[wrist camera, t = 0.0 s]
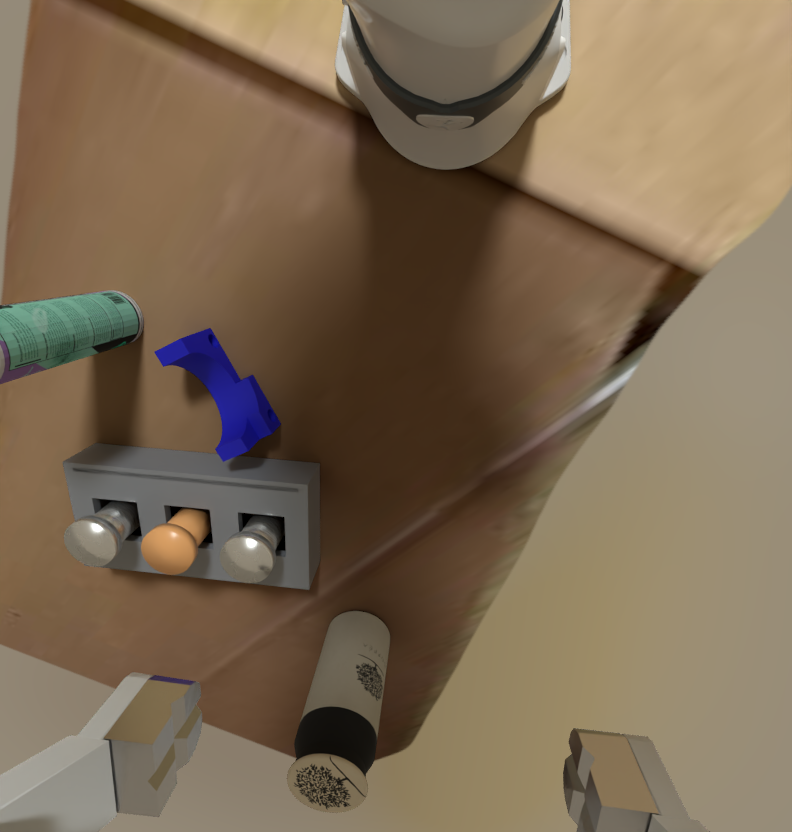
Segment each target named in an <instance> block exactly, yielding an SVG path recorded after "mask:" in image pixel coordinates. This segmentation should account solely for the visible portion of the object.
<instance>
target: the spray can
mask: <svg viewBox="0 0 792 832" xmlns="http://www.w3.org/2000/svg"><path fill="white" fill-rule="evenodd" d="M143 325H144V321H143V315H142V312H141V310H140V308H139V306H138V305H137V303H136V302H135V301H134V300H133V299H132V298H131V297H129V296H128V295H127V294H124V293H122V292H119V291H112V290H111V291H102V292H95V293H87V294H80V295H73V296H65V297H58V298H51V299H44V300H36V301H29V302H22V303H14V304H7V305H0V384H2V383H5V382H8V381H12V380H15V379H18V378H21V377H24V376H28V375H31V374H34V373H37V372H40V371H43V370H47V369H50V368H53V367H56V366H59V365H63V364H66V363H69V362H72V361H75V360H78V359H82V358H85V357H88V356H91V355H94V354H97V353H101V352H104V351H107V350H110V349H113V348H117V347H120V346H123V345H126V344H129V343H131V342H134V341H135V340H136V339H138V337H139V336H140V335H141V333H142V330H143Z"/></svg>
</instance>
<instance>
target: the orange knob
mask: <svg viewBox="0 0 792 832" xmlns="http://www.w3.org/2000/svg"><path fill="white" fill-rule="evenodd" d="M211 530H212V527H211V517H210V511H209V510H208V509H199V508H189V507H182V508H181V509H180V510H179V511H178V512H177V513H176V514H175V515H174V516H173V517H172V518H171V519H170V520H169V521H168V522H167V523H163V524H159V525H157V526H155V527H154V528H153V529H152V530H151V531H150V532H149V533H148V534H147V535H146V536H145V537H144V538H143V540H142V543H141V551H142V555H143V557H144V559H145V560H146V562H147V563H148V564H149V565H150V566H151V567H152V568H154V569H155V570H157V571H159V572H161V573H164V574H169V575H176V574H180V573H183V572H185V571H186V570H187V569H188V568H189V567H190V566H191V564H192V563H193V562H194V561H195V559H196V557H197V555H198V546H199V545H200V544H201V542H202V541H203V540H204V539H205V537H206V536H207V535H208V534H209V533H210V531H211Z"/></svg>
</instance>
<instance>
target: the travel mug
mask: <svg viewBox="0 0 792 832" xmlns="http://www.w3.org/2000/svg"><path fill="white" fill-rule="evenodd" d="M389 646H390V633H389V630H388V628H387V627H386V625H385V624H384V623H383V622H382V621H381V620H380V619H379V618H377V617H376V616H374V615H372V614H369V613H366V612H361V611H349V612H345V613H342V614H340V615H338V616H337V617H335V618H334V619H333V620H332V622H331V623H330V625H329V628H328V631H327V634H326V638H325V641H324V644H323V648H322V651H321V654H320V658H319V661H318V665H317V668H316V671H315V675H314V678H313V681H312V685H311V688H310V691H309V695H308V698H307V701H306V705H305V708H304V711H303V715H302V718H301V721H300V725H299V728H298V732H297V735H296V738H295V744H294V746H295V752H296V757H297V759H296V761H295V762H294V763H293V764H292V766H291V767H290V769H289V771H288V774H287V782H288V786H289V789H290V791H291V792H292V794H293V795H294V796H295V797H296V798H297V799H298V800H299V801H300V802H302V803H303V804H305V805H307V806H308V807H310V808H313V809H316V810H319V811H323V812H330V813H338V812H346V811H349V810H352V809H354V808H356V807H358V806H359V805H360V804H361V803H362V802H363V801H364V799H365V798H366V795H367V792H368V784H367V781H366V777H365V776H366V773H367V771H368V770H369V769H370V767H371V766H372V764H373V762H374V759H375V752H376V744H377V737H378V729H379V721H380V714H381V706H382V699H383V691H384V684H385V676H386V669H387V661H388V654H389Z"/></svg>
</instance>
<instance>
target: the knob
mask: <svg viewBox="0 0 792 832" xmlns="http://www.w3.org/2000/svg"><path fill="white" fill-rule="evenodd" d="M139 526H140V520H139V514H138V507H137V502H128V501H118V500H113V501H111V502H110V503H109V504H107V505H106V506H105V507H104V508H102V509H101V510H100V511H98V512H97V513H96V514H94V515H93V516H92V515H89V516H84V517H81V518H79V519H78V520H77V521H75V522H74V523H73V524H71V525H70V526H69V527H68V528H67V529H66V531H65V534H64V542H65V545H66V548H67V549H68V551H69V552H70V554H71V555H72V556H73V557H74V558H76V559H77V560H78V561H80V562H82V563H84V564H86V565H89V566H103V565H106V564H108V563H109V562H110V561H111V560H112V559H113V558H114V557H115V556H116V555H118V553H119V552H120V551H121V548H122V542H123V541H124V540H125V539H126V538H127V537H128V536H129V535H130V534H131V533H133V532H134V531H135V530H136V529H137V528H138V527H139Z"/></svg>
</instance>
